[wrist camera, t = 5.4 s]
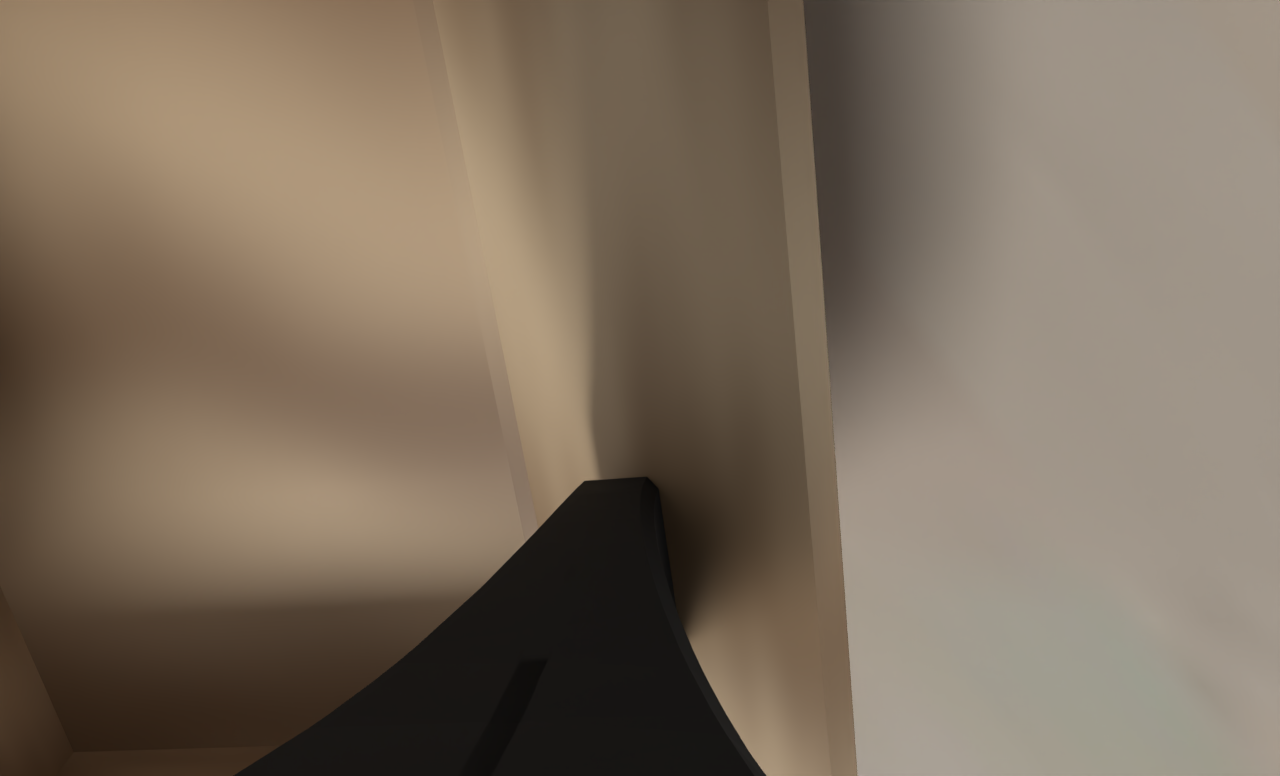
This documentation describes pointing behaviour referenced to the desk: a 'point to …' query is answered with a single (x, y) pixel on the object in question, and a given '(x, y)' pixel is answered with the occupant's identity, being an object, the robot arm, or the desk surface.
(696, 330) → the flap
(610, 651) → the robot arm
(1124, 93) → the desk surface
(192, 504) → the carton
